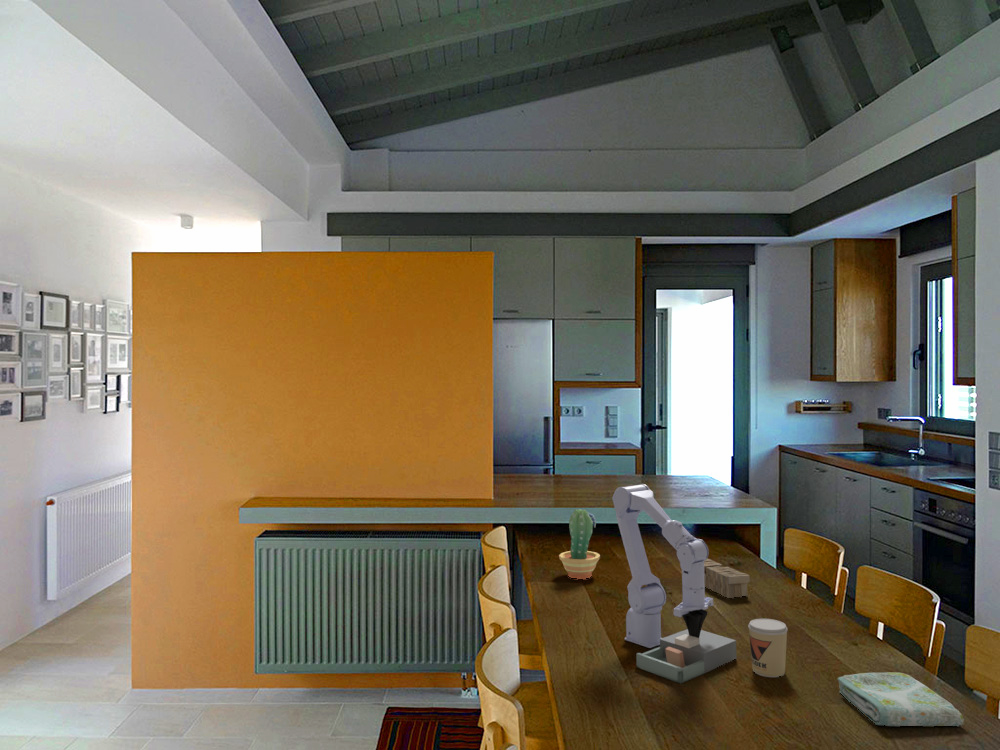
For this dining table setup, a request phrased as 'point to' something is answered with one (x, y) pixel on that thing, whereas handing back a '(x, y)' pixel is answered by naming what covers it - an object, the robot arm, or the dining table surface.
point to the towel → (898, 700)
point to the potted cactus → (580, 546)
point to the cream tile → (687, 641)
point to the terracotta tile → (675, 657)
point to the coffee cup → (768, 647)
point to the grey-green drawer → (667, 666)
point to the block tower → (725, 580)
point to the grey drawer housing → (704, 649)
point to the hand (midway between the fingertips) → (694, 638)
